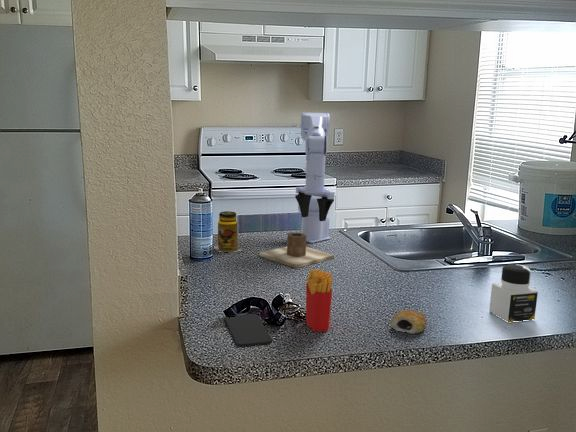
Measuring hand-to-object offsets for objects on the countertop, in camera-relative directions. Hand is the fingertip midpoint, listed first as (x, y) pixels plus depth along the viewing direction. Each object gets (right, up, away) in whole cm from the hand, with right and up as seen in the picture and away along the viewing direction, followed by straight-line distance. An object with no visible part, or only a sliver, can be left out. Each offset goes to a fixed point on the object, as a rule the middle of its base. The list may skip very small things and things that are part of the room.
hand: (313, 218), depth 177 cm
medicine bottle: (+43, -22, -47) cm, 68 cm away
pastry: (+18, -23, -54) cm, 62 cm away
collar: (-5, -11, -5) cm, 13 cm away
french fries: (-2, -23, -55) cm, 60 cm away
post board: (-5, -12, -5) cm, 14 cm away
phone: (-16, -24, -58) cm, 65 cm away
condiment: (-27, -10, +2) cm, 29 cm away
